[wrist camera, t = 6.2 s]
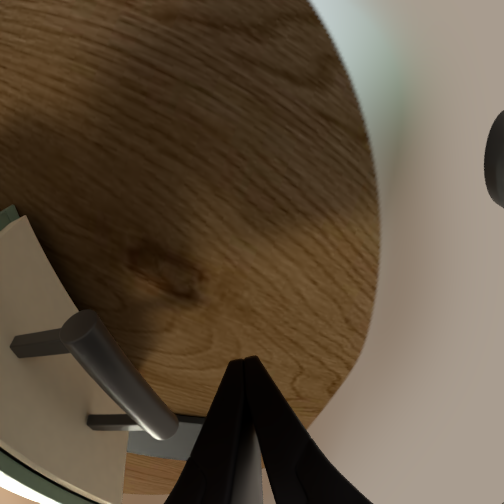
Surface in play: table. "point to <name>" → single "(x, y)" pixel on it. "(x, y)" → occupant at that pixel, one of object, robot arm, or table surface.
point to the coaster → (167, 440)
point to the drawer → (65, 380)
